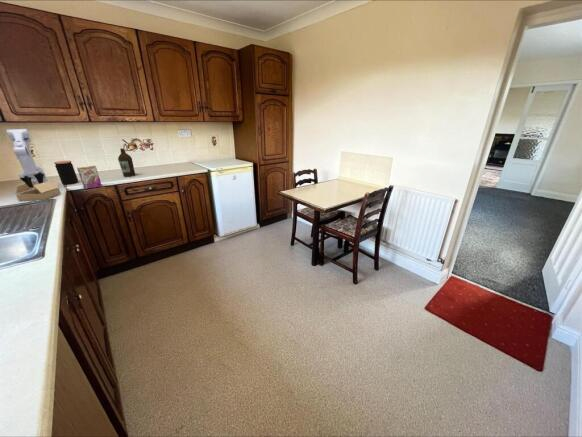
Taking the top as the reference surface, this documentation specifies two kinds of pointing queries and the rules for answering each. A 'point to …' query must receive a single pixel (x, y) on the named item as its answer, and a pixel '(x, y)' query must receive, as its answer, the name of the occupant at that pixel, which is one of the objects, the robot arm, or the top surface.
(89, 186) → the candy bar box
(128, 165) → the olive oil
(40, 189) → the flap
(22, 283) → the top surface
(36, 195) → the carton
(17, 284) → the top surface
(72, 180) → the coffee jar
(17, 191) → the flap
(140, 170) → the top surface
